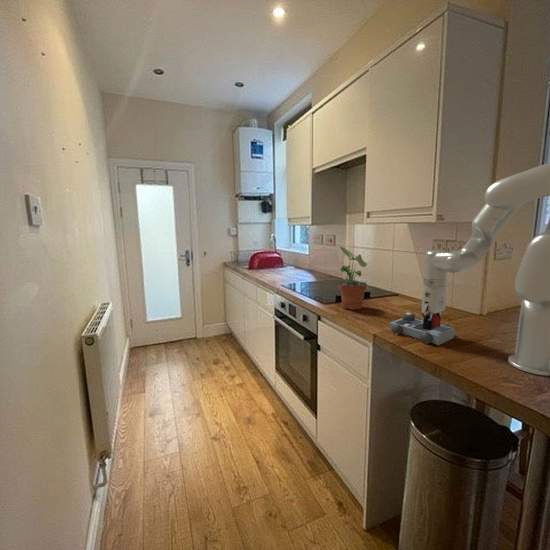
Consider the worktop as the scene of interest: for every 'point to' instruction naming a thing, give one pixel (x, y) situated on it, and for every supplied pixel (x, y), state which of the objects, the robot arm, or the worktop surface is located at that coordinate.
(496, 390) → the worktop surface
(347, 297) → the potted plant
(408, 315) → the spare wheel
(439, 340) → the chassis
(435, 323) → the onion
